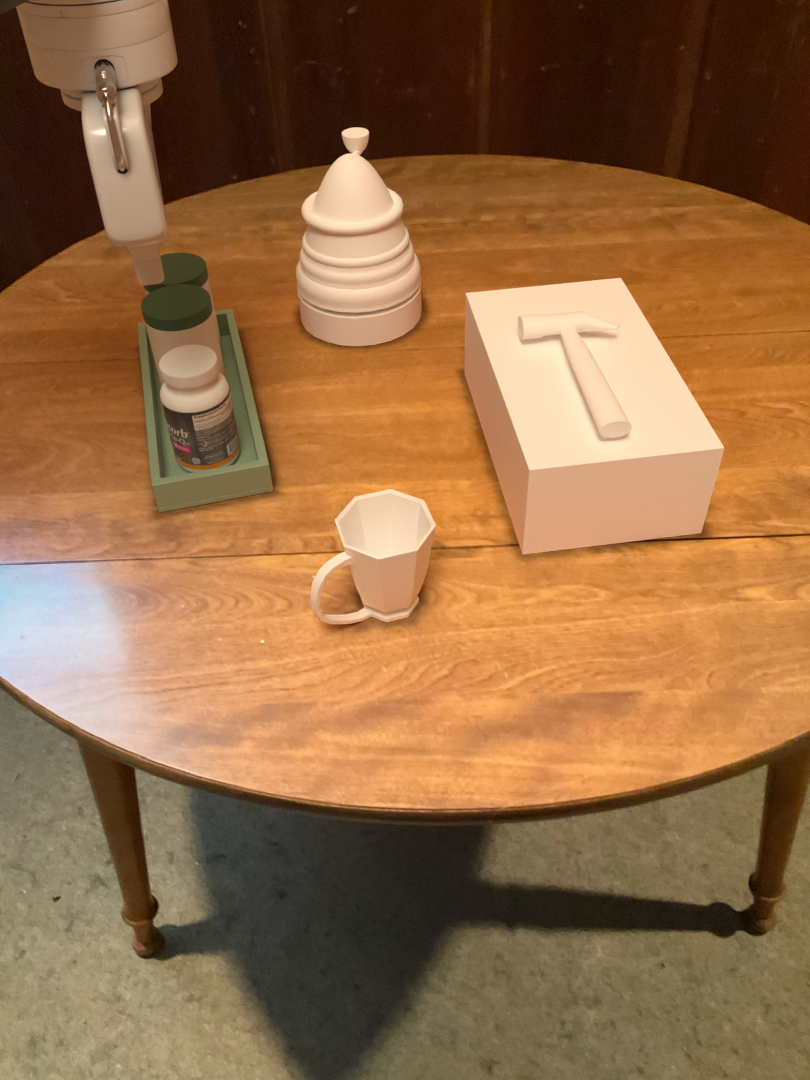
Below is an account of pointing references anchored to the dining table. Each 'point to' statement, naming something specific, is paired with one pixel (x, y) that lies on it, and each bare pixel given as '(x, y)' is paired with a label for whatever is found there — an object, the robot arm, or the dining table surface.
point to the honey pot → (357, 256)
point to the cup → (380, 555)
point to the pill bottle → (198, 409)
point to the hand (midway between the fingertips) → (148, 248)
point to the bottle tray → (252, 462)
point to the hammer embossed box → (586, 417)
